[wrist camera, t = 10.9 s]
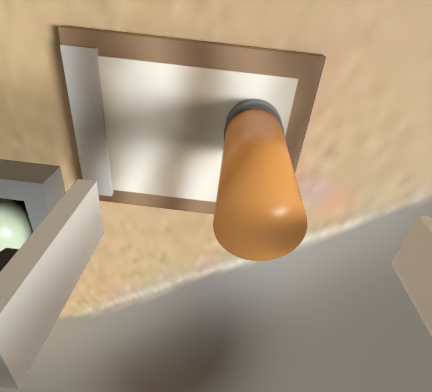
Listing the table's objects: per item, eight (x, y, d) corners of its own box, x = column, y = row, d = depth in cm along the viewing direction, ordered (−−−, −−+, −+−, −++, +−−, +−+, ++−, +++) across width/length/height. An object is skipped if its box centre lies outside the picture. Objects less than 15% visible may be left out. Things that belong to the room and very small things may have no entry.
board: (90, 193, 29) (84, 202, 28) (64, 25, 22) (53, 27, 20) (280, 215, 29) (282, 225, 28) (322, 54, 22) (327, 58, 20)
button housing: (-21, 243, 34) (-42, 262, 32) (-61, 152, 28) (-90, 168, 26) (78, 255, 34) (65, 275, 32) (59, 166, 28) (41, 183, 26)
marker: (222, 149, 25) (207, 257, 15) (228, 95, 22) (214, 180, 12) (275, 155, 25) (297, 267, 15) (286, 101, 22) (320, 191, 12)
